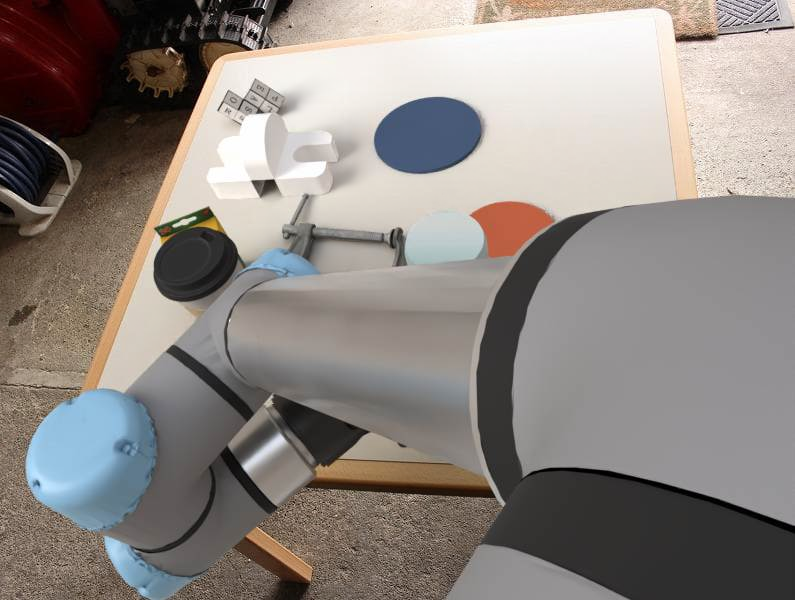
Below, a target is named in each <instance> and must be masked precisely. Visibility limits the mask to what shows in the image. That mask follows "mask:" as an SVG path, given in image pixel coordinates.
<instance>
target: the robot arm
mask: <svg viewBox="0 0 795 600" xmlns="http://www.w3.org/2000/svg"><path fill="white" fill-rule="evenodd" d="M271 396H272V398H271ZM269 399H270V401H271V404H270V405H268V406H267V405H265V403H266V402H267V401H268V400H269ZM370 433H371V434H372V433H373V434H375V435H378V436H380V437H382V438H385V439H387V440H390V441H393V442H395V443H396V444H397V445H398V446H399V447H400V448H405V449H406V448H411V449H413V450H414V451H415V450H416V451H418V452H420V453H423V454H424V455H425V454H426V455H428V456H430V457H433V458H436V459H438V460H441V461H443V462H446V463H448V464H451V465H454V466H456V467H458V468H461V469H463V470H465V471H468V472H471V473H473V474H476V475H478V476H481V477H484V478H485V479H486V481H487V483H488V485H489V487H490V490H491V491H492V492H493V494H494V496H495V498H496V500H497V501H498V502H499V504H500V505H501V506H502V508H501V510H500V511H499V513H498V514H497V516H496V518H495V519H494V521H493V522H492V524H491V526H490V527H489V529H488V531H487V532H486V533H485V535H484V536H483V538H482V539H481V542H480V543H479V544H478V545H477V546H476V548H475V550H474V552H473V554H472V555H471V558H470V559H469V560H468V562H467V563H466V565H465V567H464V568H463V570H462V572H461V573H460V575H459V576H458V578H457V580H456V581H455V583H454V584H453V586H452V588H451V589H450V591H449V592H448V594H447V595H446V596H445V598H444V600H795V197H785V196H769V195H768V196H767V195H746V194H731V195H717V196H709V197H707V196H706V197H697V198H686V199H685V198H684V199H676V200H675V199H674V200H667V201H659V202H650V203H649V202H648V203H642V204H641V203H640V204H634V205H633V204H631V205H624V206H620V207H613V208H607V209H601V210H595V211H589V212H584V213H578V214H572V215H569V216H567V217H564V218H561V219H557V220H555V221H554V223H552V224H550V225H548V226H547V227H545V228H543V229H541V230H540V231H539V232H538V233H536V234H535V235H534V236H533V237H531V238H530V239H529V240H528V241H526V242H525V243H524V244H523V245H522V247H521V248H520V249H519V250H518V251H517V252H516V253H515V255H514V256H504V257H493V258H483V259H472V260H462V261H452V262H441V263H431V264H420V265H410V266H399V267H392V266H389V267H380V268H369V269H359V270H349V271H339V272H337V271H336V272H326V273H322V272H321V271H320V270H319V269H318V268H317V267H316V266H315V265H314V264H312V263H311V262H310V261H308V259H307V260H306V259H304V258H303V257H301V256H299V255H297V254H294V253H290V252H289V251H288V249H285V248H281V247H280V248H279V247H275V248H270V249H267V250H266V251H264V252H263V253H262V254H261V255H260V256H259V257H258V258H257V259H256V260H254V261H253V262H252V263H251V264H250V265H249V266H246V267H245V269H244V270H243V271H241V272H240V273H239V274H238V275H237V276H236V277H235V278H234V281H233V283H232V284H231V285H230V286H229V287H228V288H227V289H226V290H225V291H224V292H223V293H222V294H221V295H220V296H219V297H218V298H217V299H216V300H215V302H214V303H213V304H212V305H211V306H210V307H209V308H208V309H207V310H206V311H205V312H204V313H203V314H202V315H201V316H200V317H199V318H198V319H197V318H196V320H195V321H194V322H193V323H192V324H191V325H190V326H189V327H188V328H187V329H186V331H185V332H184V333H183V334H182V335H181V336H180V337H179V338H178V339H177V340H176V341H175V342H174V343H173V344H171V345H170V346H169V347H168V348H167V349H166V350H165V351H163V352H162V353H161V354H160V355H159V357H158V358H156V359H155V360H154V361H153V362H152V364H151V365H149V366H148V367H147V369H145V370H144V372H142V373H141V375H140V376H139V377H137V379H136V380H135V381H134V382H132V384H131V385H130V386H129V387H128V388H127V389H126V390H125V391H124V392H122V391H120V390H116V389H113V388H106V387H105V388H104V387H103V388H102V387H101V388H92V389H88V390H84V391H83V392H81V393H80V395H78V396H76V397H74V398H72V399H69V400H64V401H63V402H61V403H60V404H58V405H57V406H56V407H55V408H54V409H52V410H51V411H50V412H49V413H48V414H47V416H45V418H44V419H43V421H42V422H41V423H40V424H39V426H38V427H37V428H36V430H35V432H34V434H33V436H32V438H31V441H30V443H29V446H28V450H27V453H26V458H25V467H24V468H25V476H26V481H27V485H28V487H29V489H30V491H31V492H32V495H33V496H34V498H35V499H36V500H37V501H38V502H40V503H41V504H43V505H44V506H46V507H47V508H49V509H51V510H53V511H55V512H56V513H58V514H61V515H62V516H64V517H66V518H68V519H70V520H71V521H72V522H73V523H74V524H75V525H76V526H77V527H79V528H80V529H82V530H88V531H90V532H94V533H98V534H100V535H101V536H104V545H105V549H106V552H107V555H108V557H109V559H110V561H111V563H112V565H113V566H114V568H115V569H116V571H117V572H118V574H119V576H120V577H121V578H122V579H123V580H124V581H125V582H126V583H127V585H128V586H129V587H130V588H135V589H136V590H137V591H138V593H139V594H140V596H142V597H144V598H146V599H149V600H166V599H169V598H171V597H173V595H175V594H176V593H178V592H179V591H181V590H182V589H183V588H184V587H185V586H188V585H189V584H190V583H191V582H192V581H194V580H197V579H199V578H200V577H202V575H205V574H206V573H207V572H208V570H209V569H211V567H212V566H213V565H214V564H215V563H216V562H218V561H219V560H220V559H221V558H223V556H224V555H226V554H227V553H229V551H230V550H231V549H233V548H234V547H235V546H236V545H238V543H240V542H241V541H242V540H243V539H244V538H246V537H247V536H248V535H249V534H250V533H251V532H252V531H254V529H256V528H257V527H258V526H259V525H261V524H262V523H263V522H264V521H265V520H267V518H269V517H270V516H271V515H272V514H273V513H274V512H276V511H277V510H278V509H280V508H282V506H283V505H285V504H286V503H287V502H288V501H290V500H291V499H292V498H293V497H294V496H295V495H297V494H298V493H299V492H300V491H301V490H302V489H304V488H305V487H306V486H307V485H308V484H310V483H312V482H313V480H314V479H316V478H317V475H318V472H317V469H316V468H317V467H319V465H321V466H322V467H323V468H325V467H328V468H329V467H330V466H332V465H333V464H334V463H335V462H336V461H337V460H339V459H340V458H341V457H342V456H344V455H345V454H346V453H348V452H349V450H351V449H352V448H353V447H354V446H355V445H356V444H357V443H358V442H359V441H360V440H361V439H362V438H363V437H364V436H365V435H368V434H370Z"/></svg>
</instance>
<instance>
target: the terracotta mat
mask: <svg viewBox="0 0 795 600" xmlns="http://www.w3.org/2000/svg"><path fill="white" fill-rule="evenodd" d="M468 215H469V216H471V217H472V218H474V219H475V220H476V221H477V222H478V223H479V224H480V226H481V228H482V229H483V231H484V233H485V235H486V239H487V246H488V257H489V258H493V257H504V256H514V255H515V253H516V252H517V251H518V250H519V249H520V248H521V247H522V245H523V244H524V243H525V242H526V241H528V240H529V239H530V238H531V237H533V236H534V235H535V234H536V233H538V232H539V231H540V230H541V229H543V228H545V227H547V226H548V225H550V224H552V223H554V222H555V221H554V219H552V217H551V216H550V215H549V214H548V213H547V212H546V211H544V210H543V209H541V208H539V207H537V206H535V205H533V204H530V203H527V202H523V201H521V202H520V201H512V200H510V201H509V200H508V201H499V202H493V203H490V204H486V205H484V206H481V207H480V208H477V209H476V210H474V211H473V212H472V213H470V214H468Z"/></svg>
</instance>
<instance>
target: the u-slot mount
mask: <svg viewBox="0 0 795 600" xmlns="http://www.w3.org/2000/svg"><path fill="white" fill-rule="evenodd" d="M239 130H240V131H239V135H237V136H236V135H234V136H227V137H225V138H223V139H222V140H221V141H220V142H219V144H218V147H217V149H216V152H217V154H218V156H219V157H220V159H221V161H222V163H223V165H224V167H221V166H220V167H210V168H209V170H208V173H207V175H206V180H207V182H208V183H209V185H210V187H211V188H212V190H213V193H215V195H216V197H217V198H218V199H219V200H222V201H223V200H243V199H244V200H245V199H246V200H247V199H260V198H261V197H262V196H261V195H262V193H263V189H264V186H265V183H266V180H267V181H268V180H274V181H275V184H276V186H277V187H278V190H279V192H280V194H281V196H282V198H287V197H288V198H289V197H303V194H304V193H307V194H308V195H309V196H324V195H326V194H328V193H329V192H330V191H331V190H332V187H333V183H334V177H333V174H332V172H331V168H330V166H329V163H338V161H339V156H340V153H339V152H338V148H337V146H336V142H335V140H334V137H333V135H332V134H331V133H330V132H328V131H326V130H319V129H318V130H305V131H293V132H291V131H290V132H289V131H288V128H287V126H286V124H285V121H284V119H283V117H282V116H281V115H280V114H279V113H278V112H277V113H265V112H264V113H263V112H262V113H256V114H250V115H248V116H246V117H245V119H244V121H243V122H242V126H241V125H240V129H239Z"/></svg>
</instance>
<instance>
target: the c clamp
mask: <svg viewBox="0 0 795 600" xmlns="http://www.w3.org/2000/svg"><path fill="white" fill-rule="evenodd" d="M309 197H310V195H308V194H307V193H304V194H303V196H301V199H300V202H299V204H298V205H297V208H296V210H295V212H294V214H293V215H292V218H291V220H290V222H289V223H288V224H286V223H284V224H283V225H282V226H281V233H282V237H283V239H285V240H289V239H290V238H291V236H296V237H295V238H294V239H293V241H292V242H291V244H290V245H289V246H288V249H287V250H288V251H289V252H290V253H294V254H297V255H299V256H301V257H303V258H304V259H306V260H307V261H308V258H309V255H310V252H311V250H312V243H313V242H312V241H313V240H314V239H316V238H320V239H321V238H322V239H331V240H342V241H343V240H346V241H353V242H368V243H378V244H382V243H385V244H386V245H388V247H389V248H390V249H393V250H394V249H395V255H394V259H393V263H392V266H391V267H399V266H408V265H407V261H406V258H405V243H406V237H405V235H404V230H403V228H402V227H400V226H397V227H396V228H392V229H390V230H389V232H386V233H384V232H378V231H366V230H356V229H354V230H353V229H342V228H341V229H340V228H331V227H330V228H329V227H318V226H316V224H315V223H308V222H300V223H298V225H296V224H297V223H296V222H297V221H298V218H299V217H300V214H301V213H302V210H303V208H304V206H305V204H306V202H307V200H308V199H309Z"/></svg>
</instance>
